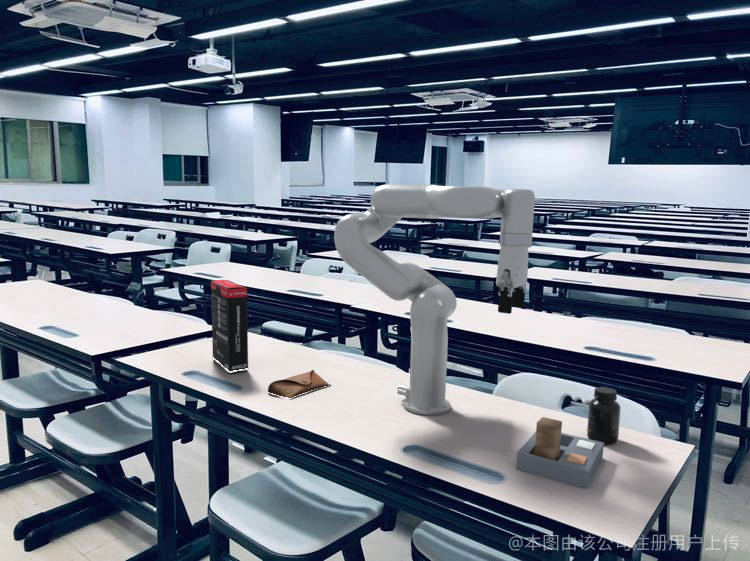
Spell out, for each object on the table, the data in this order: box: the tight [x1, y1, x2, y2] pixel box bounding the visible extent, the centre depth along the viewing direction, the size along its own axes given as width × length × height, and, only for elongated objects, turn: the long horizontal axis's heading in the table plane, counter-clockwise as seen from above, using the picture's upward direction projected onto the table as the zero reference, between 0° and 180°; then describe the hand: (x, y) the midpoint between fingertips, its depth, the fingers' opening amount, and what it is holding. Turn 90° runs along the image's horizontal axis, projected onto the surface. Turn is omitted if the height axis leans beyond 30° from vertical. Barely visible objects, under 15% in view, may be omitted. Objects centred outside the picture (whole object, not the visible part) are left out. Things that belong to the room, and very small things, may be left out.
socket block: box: [515, 431, 605, 489], centre depth 117 cm, size 14×16×4 cm
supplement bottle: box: [586, 386, 621, 446], centre depth 129 cm, size 7×7×12 cm
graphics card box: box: [210, 279, 249, 371], centre depth 176 cm, size 17×7×27 cm, turn 34°
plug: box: [535, 416, 563, 461], centre depth 114 cm, size 4×4×10 cm
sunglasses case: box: [267, 369, 331, 398], centre depth 159 cm, size 18×7×7 cm
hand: (511, 309), depth 136 cm, fingers open, 9 cm apart
